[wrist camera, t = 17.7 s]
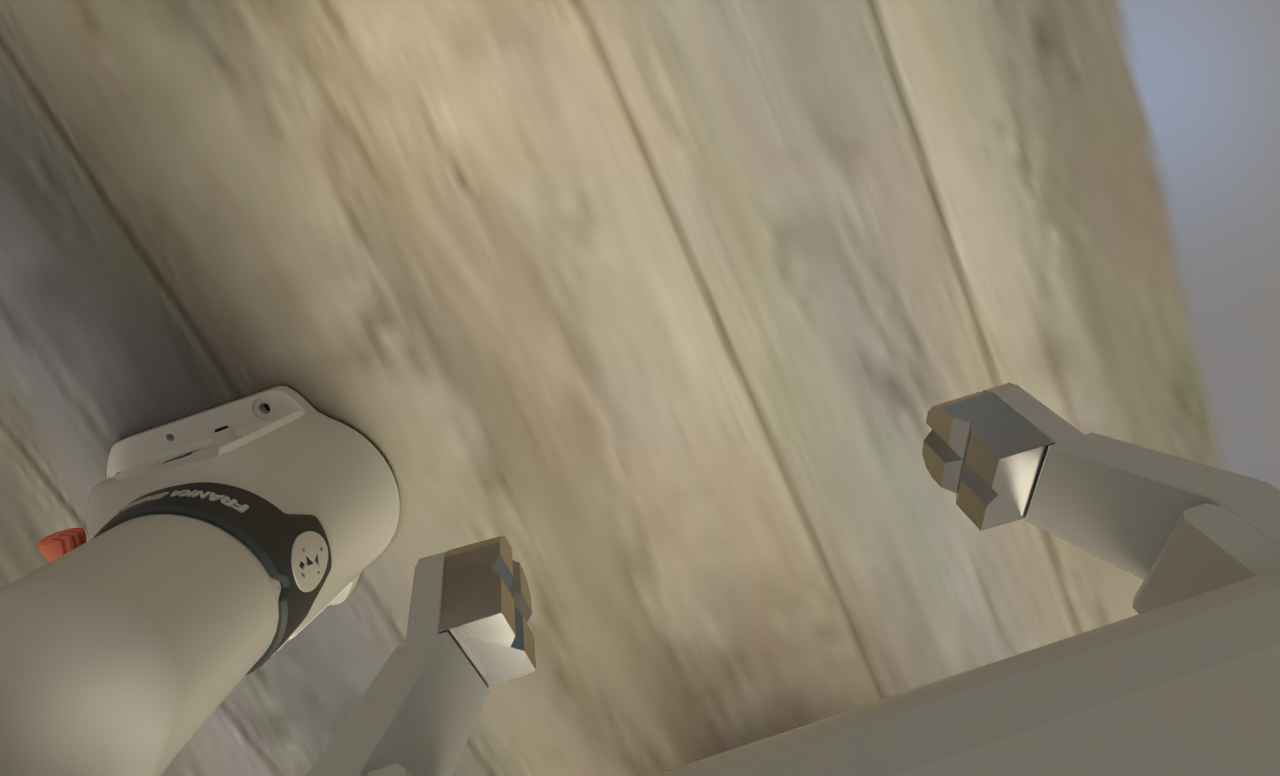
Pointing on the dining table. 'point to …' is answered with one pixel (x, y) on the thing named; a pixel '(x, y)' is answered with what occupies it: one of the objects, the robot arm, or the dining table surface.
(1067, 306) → the dining table surface
